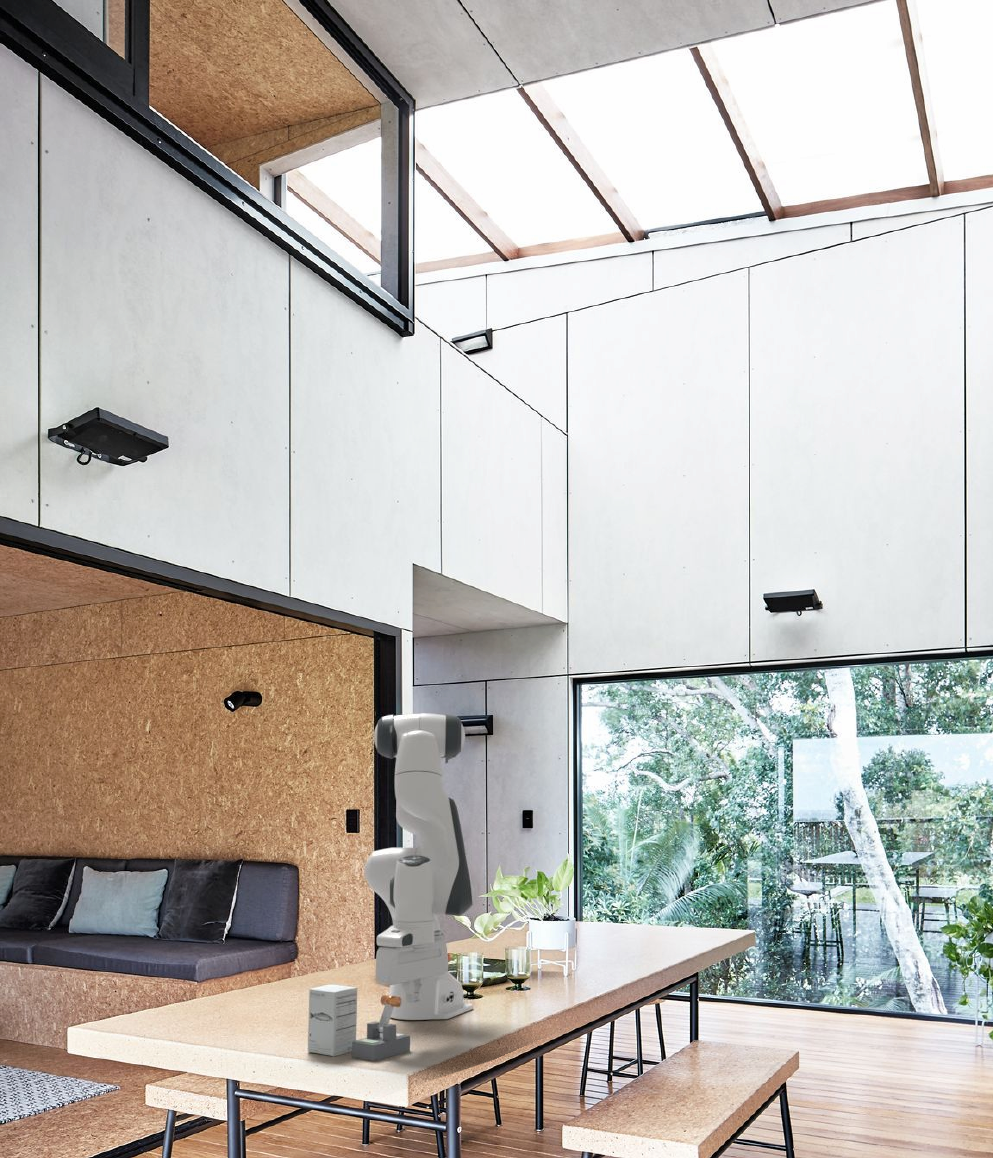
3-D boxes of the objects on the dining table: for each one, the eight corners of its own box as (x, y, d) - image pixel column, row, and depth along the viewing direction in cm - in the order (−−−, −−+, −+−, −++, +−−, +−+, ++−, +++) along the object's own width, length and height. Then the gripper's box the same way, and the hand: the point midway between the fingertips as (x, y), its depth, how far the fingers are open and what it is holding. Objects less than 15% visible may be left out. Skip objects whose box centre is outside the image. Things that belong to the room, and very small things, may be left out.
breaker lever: (376, 1033, 236) (388, 996, 240) (390, 1035, 233) (402, 998, 237) (370, 1030, 234) (382, 993, 238) (385, 1032, 232) (397, 995, 236)
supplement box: (306, 1052, 235) (307, 988, 237) (330, 1045, 241) (331, 983, 243) (333, 1057, 231) (334, 991, 233) (357, 1050, 237) (358, 986, 239)
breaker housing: (388, 1046, 239) (388, 1017, 240) (410, 1050, 236) (410, 1021, 237) (351, 1057, 231) (352, 1026, 232) (374, 1061, 227) (374, 1030, 228)
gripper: (432, 928, 255) (432, 992, 253) (371, 937, 239) (370, 1007, 236) (455, 929, 252) (455, 995, 249) (393, 940, 235) (393, 1010, 233)
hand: (413, 1001), depth 243 cm, fingers closed
